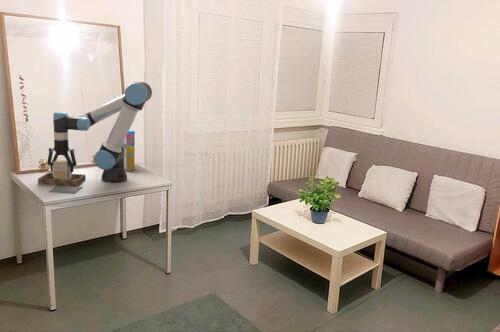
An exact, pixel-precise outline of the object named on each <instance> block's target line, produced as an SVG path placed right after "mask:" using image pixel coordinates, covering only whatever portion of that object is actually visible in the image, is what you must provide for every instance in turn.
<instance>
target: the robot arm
mask: <svg viewBox="0 0 500 332" xmlns="http://www.w3.org/2000/svg"><path fill="white" fill-rule="evenodd" d="M152 95H153V90H152V87H151V86H150V85H149V84H148V83H146V82H144V81H139V82H138V81H137V82H132V83H130V84H129V85H127V87H125V90H124V94H121V95H120V96H117V97H116V98H114V99H112V100H110V101H108V102H107V103H104V104H102V105H101V106H98V107H97V108H95V109H92V110H90V111H88V112H87V113H85V114H83V115H79V116H69V114H68V112H64V111H55V112H54V113H53V114H52V115H53V117H52V118H53V123H52V124H53V145H54V147H49V148H48V157H47V162H46V165H48V166H50V172H52V173H53V177H54V168H53V161H56V160H58V158H59V156H63V157H64V158H65V159H66V160H67V162H68V164H69V165H70V167H69V178H71V177H72V174H73V172H74V167H76V166H77V159H76V156H75V149H74V148H73V149H71V148H70V147H69V130H72V131H73V130H74V131H81V132H83V131H84V132H85V131H88V130H89V129H90V128H91V127H93V126H94V125H96V124H97V123H100V122H101V121H104V120H105V119H107V118H110V117H112V116H113V115H115V114H117V113H118V115H117V117H116V120H115V122H114V124H113V127H112V129H111V130H110V132H109V134H108V137H107V140H105V141H103V142H102V143H101V145H100V147H99V149H98V151H97V152H96V153H95V154H94V156H93V161H94V164H95V166H96V167H98V168H99V169H100V170H103V171H102V174H101V181H103V182H104V183H105V182H106V183H112V184H113V183H122V182H123V183H124V182H127V181H128V174H127V171H126V170H125V168H124V150H125V148H124V144H123V142H124V140H125V137H126V135H127V133H128V131H129V129H131V127H132V125H133V123H134V121H135V118H136V117H137V114H138V112H141V111H142V110H143V108H144V106H145V104H146V102H148V101H149V100H150V99H151V98H152ZM54 152H55V154H54V156H53V153H54ZM69 153H70V156H69Z"/></svg>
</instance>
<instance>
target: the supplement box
mask: <svg viewBox="0 0 500 332" xmlns="http://www.w3.org/2000/svg"><path fill="white" fill-rule="evenodd" d="M69 167H70V165H69V164H68V162H67V160H64V159H57V160H56V161H53V168H54V179H63V180H71V178H69Z"/></svg>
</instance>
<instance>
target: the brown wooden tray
mask: <svg viewBox="0 0 500 332" xmlns="http://www.w3.org/2000/svg"><path fill="white" fill-rule="evenodd" d="M86 178H87V177H86V174H81V173H79V174H78V173H72V177H71V180H63V179H54V177H53V172H47V173H45V174H43V175H42V176H39V177H38V178H37V184H38V185H41V186H55V187H56V186H57V185H59V186H77V187H80V185H82V184H83V183H84V182H85V181H86Z"/></svg>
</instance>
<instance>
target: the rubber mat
mask: <svg viewBox="0 0 500 332" xmlns="http://www.w3.org/2000/svg"><path fill="white" fill-rule="evenodd" d="M81 189H83V186H78V187H77V186H59V185H57V186H56V185H55V186H54V187H52V188H51V189H50V190H49V191H48V193H56V194H58V193H59V194H72V195H73V194H77V192H79V191H80V190H81Z"/></svg>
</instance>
